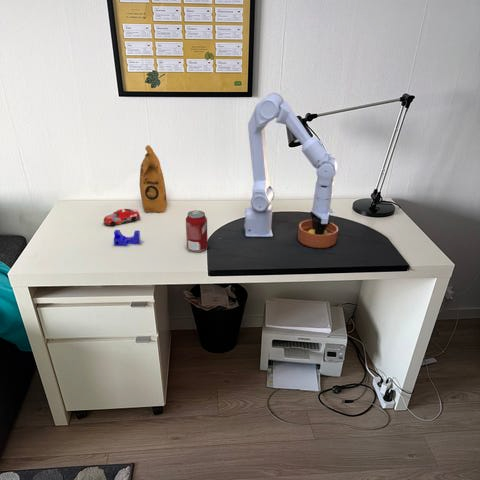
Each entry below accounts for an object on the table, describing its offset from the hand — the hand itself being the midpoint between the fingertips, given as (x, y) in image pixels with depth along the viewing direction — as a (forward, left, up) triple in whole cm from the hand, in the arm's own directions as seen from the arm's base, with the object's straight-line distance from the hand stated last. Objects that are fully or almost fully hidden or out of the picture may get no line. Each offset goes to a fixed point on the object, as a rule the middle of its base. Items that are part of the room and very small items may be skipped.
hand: (317, 235), depth 151 cm
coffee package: (-59, +28, -2) cm, 65 cm away
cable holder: (-64, -4, -2) cm, 64 cm away
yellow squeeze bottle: (0, 0, -1) cm, 1 cm away
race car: (-69, +14, -2) cm, 70 cm away
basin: (0, 0, -2) cm, 2 cm away
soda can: (-41, -7, -2) cm, 42 cm away
